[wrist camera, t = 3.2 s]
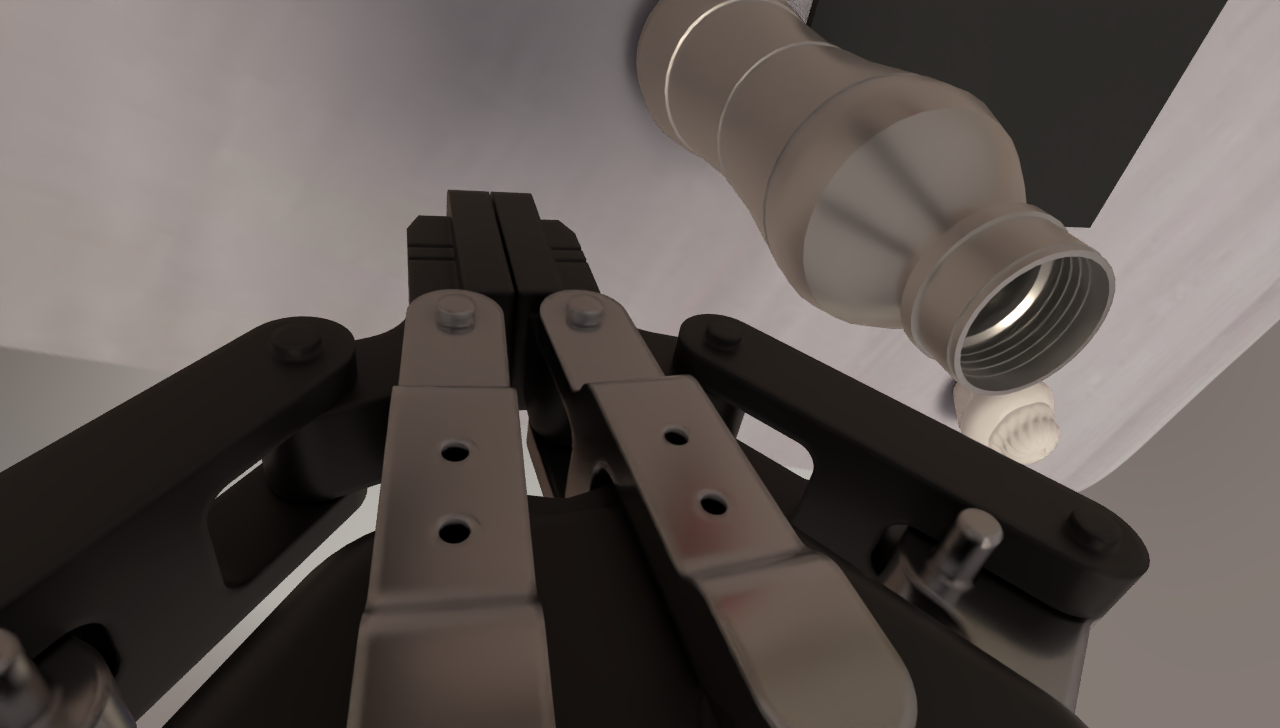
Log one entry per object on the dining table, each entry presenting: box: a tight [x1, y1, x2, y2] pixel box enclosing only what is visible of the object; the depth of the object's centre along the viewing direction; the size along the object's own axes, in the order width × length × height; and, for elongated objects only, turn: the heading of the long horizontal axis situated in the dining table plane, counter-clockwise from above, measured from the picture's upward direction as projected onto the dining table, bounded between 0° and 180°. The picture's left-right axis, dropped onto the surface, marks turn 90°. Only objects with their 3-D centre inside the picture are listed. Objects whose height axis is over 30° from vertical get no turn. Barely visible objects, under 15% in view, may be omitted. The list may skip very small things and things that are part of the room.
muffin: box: [953, 381, 1060, 464], centre depth 45 cm, size 6×6×7 cm
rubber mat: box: [807, 0, 1228, 228], centre depth 34 cm, size 14×22×1 cm, turn 81°
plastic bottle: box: [636, 0, 1115, 396], centre depth 21 cm, size 6×7×20 cm
